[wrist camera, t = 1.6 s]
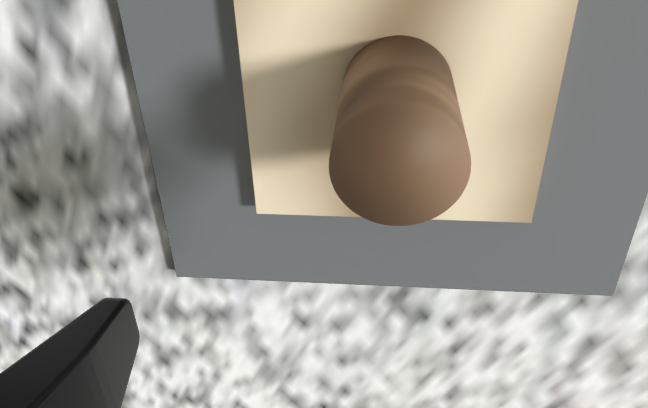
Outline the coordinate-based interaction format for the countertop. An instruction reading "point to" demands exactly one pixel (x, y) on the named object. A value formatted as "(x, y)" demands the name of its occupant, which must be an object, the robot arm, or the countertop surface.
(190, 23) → the mat
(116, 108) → the countertop surface
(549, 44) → the lid
